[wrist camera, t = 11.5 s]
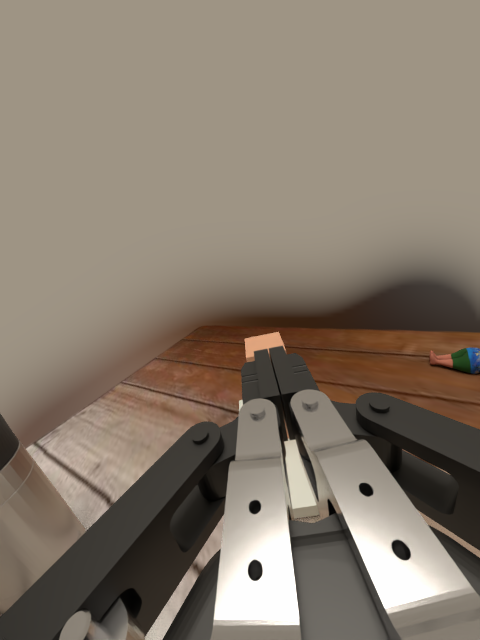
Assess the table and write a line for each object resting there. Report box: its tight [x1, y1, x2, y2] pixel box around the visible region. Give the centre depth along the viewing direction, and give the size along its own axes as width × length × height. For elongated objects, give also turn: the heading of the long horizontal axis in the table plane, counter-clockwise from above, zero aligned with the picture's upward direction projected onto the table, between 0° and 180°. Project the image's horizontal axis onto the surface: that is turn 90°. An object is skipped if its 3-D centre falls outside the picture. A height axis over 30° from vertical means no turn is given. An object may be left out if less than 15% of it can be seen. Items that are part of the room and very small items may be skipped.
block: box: [245, 332, 289, 438], centre depth 38 cm, size 6×6×16 cm
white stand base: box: [239, 400, 320, 519], centre depth 38 cm, size 14×21×4 cm, turn 1°
